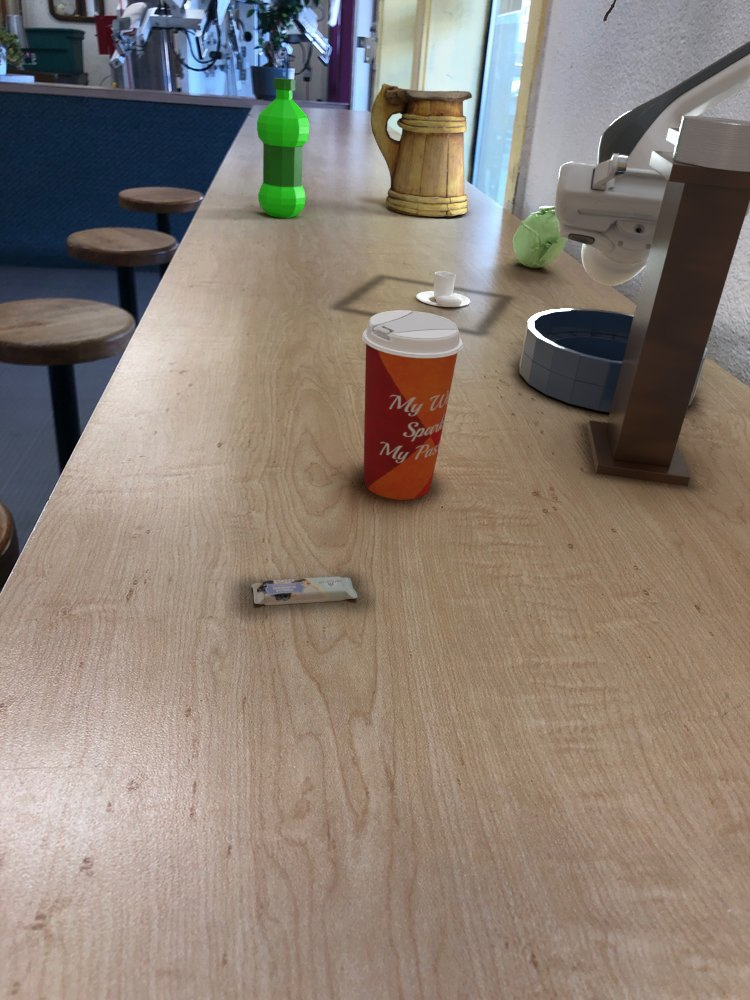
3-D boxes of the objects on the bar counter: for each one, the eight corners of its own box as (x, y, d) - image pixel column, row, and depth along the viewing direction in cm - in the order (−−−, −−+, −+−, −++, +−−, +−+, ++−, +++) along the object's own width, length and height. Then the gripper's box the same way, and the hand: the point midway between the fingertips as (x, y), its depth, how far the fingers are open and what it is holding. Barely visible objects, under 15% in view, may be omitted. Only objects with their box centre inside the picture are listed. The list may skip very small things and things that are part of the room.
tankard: (472, 221, 173) (489, 94, 161) (365, 213, 171) (374, 84, 159) (461, 206, 189) (476, 89, 176) (363, 199, 187) (371, 80, 175)
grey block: (713, 145, 76) (722, 111, 74) (781, 175, 56) (795, 129, 55) (639, 138, 76) (647, 103, 75) (681, 165, 57) (692, 119, 55)
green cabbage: (487, 264, 138) (497, 199, 133) (527, 258, 145) (537, 196, 140) (541, 281, 131) (554, 212, 125) (580, 274, 138) (594, 208, 132)
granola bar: (351, 583, 53) (352, 571, 53) (357, 604, 51) (358, 591, 51) (251, 589, 52) (251, 576, 51) (253, 611, 50) (253, 598, 49)
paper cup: (391, 519, 61) (410, 346, 54) (332, 478, 66) (342, 315, 59) (462, 493, 66) (487, 330, 59) (402, 456, 71) (419, 303, 64)
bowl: (675, 367, 98) (688, 320, 95) (708, 431, 81) (725, 376, 78) (518, 347, 100) (526, 300, 97) (518, 406, 83) (528, 351, 80)
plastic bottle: (287, 210, 167) (290, 77, 155) (316, 220, 160) (322, 82, 148) (247, 213, 161) (246, 75, 149) (275, 223, 155) (277, 80, 142)
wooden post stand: (667, 441, 78) (750, 160, 65) (686, 489, 70) (786, 175, 57) (586, 430, 79) (652, 150, 66) (595, 476, 70) (672, 163, 57)
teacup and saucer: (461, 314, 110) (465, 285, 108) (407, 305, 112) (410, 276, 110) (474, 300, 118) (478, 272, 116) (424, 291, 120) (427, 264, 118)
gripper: (723, 254, 91) (772, 208, 77) (545, 235, 93) (561, 186, 79) (730, 200, 91) (781, 145, 77) (552, 182, 93) (570, 124, 79)
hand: (668, 166), depth 78 cm, fingers open, 8 cm apart
